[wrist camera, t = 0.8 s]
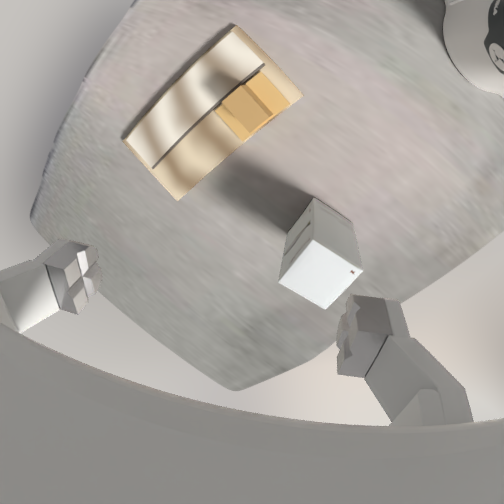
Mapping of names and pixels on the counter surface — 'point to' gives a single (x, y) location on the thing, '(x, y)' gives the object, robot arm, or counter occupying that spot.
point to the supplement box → (320, 255)
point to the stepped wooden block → (251, 106)
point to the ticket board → (201, 113)
